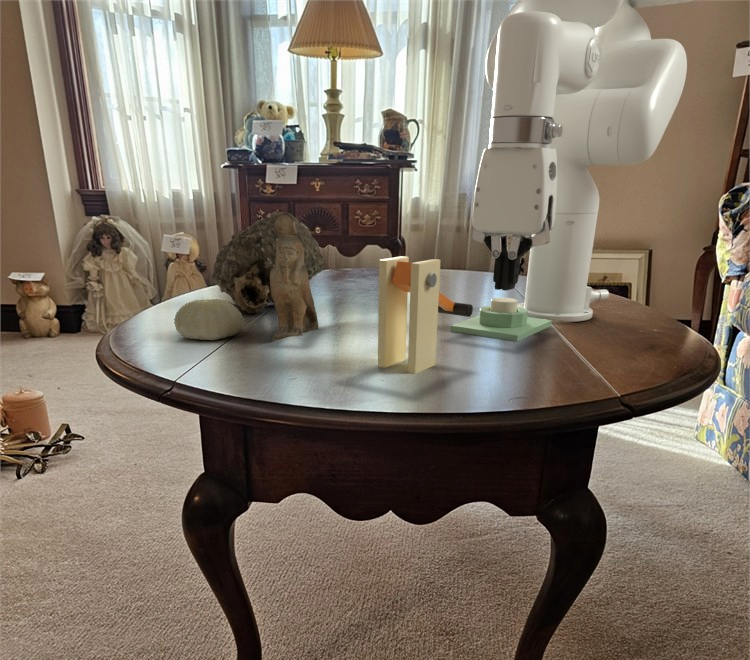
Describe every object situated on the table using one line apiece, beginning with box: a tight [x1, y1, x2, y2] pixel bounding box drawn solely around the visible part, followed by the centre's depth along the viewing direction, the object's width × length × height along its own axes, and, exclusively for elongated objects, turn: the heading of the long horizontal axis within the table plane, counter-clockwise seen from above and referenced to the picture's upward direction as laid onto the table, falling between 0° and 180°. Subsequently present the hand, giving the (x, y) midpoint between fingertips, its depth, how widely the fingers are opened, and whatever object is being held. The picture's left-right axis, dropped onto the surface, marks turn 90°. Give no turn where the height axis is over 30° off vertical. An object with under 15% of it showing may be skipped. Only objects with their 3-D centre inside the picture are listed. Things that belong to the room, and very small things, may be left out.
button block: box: [449, 305, 553, 342], centre depth 92 cm, size 12×10×4 cm
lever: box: [392, 261, 474, 318], centre depth 74 cm, size 13×5×2 cm, turn 145°
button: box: [490, 297, 519, 313], centre depth 91 cm, size 4×4×2 cm
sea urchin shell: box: [173, 298, 244, 342], centre depth 92 cm, size 9×8×8 cm
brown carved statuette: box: [270, 212, 319, 342], centre depth 88 cm, size 12×6×18 cm, turn 170°
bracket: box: [377, 255, 441, 374], centre depth 72 cm, size 12×9×13 cm
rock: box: [211, 209, 326, 314], centre depth 109 cm, size 18×14×15 cm
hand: (504, 288), depth 89 cm, fingers closed
